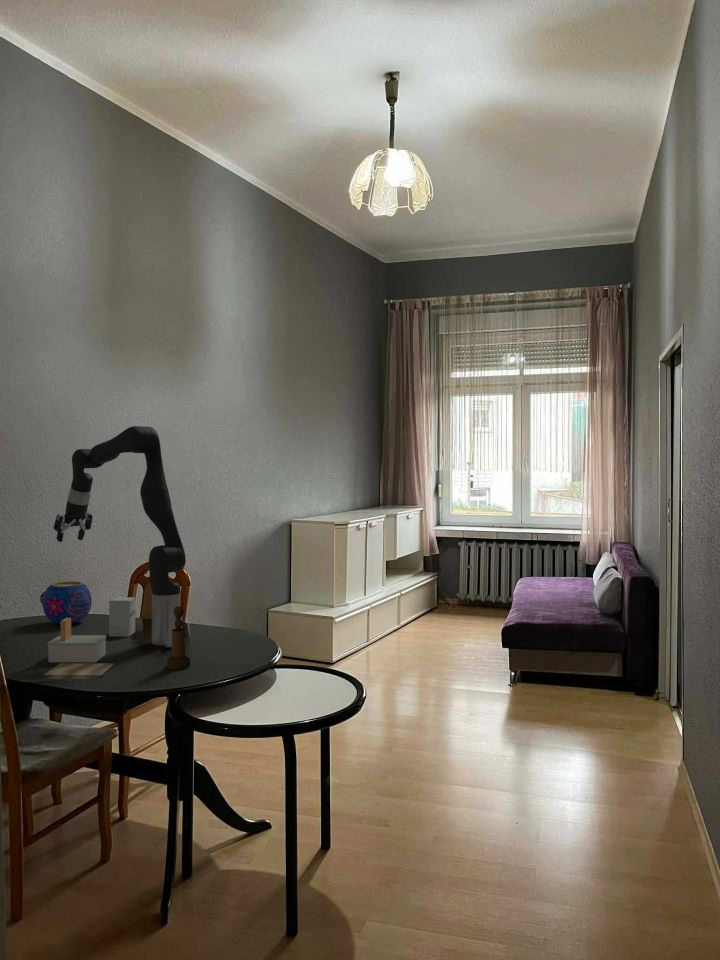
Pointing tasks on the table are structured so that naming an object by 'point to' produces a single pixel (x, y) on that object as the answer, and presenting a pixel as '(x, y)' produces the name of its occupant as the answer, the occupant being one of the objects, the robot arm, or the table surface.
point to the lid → (74, 637)
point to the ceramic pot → (66, 601)
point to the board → (78, 670)
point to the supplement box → (122, 617)
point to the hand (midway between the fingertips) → (69, 540)
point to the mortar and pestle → (178, 643)
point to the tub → (76, 653)
